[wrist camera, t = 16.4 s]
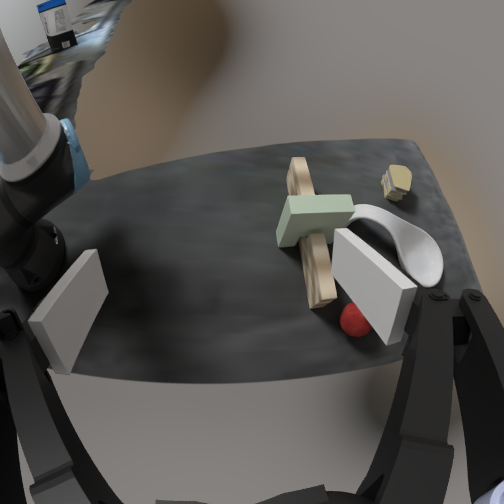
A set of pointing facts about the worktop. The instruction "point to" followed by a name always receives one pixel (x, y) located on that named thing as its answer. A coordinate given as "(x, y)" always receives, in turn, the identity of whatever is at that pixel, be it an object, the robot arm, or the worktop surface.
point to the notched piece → (313, 217)
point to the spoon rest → (407, 244)
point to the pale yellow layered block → (396, 182)
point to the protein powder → (57, 24)
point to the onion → (354, 321)
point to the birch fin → (312, 243)
